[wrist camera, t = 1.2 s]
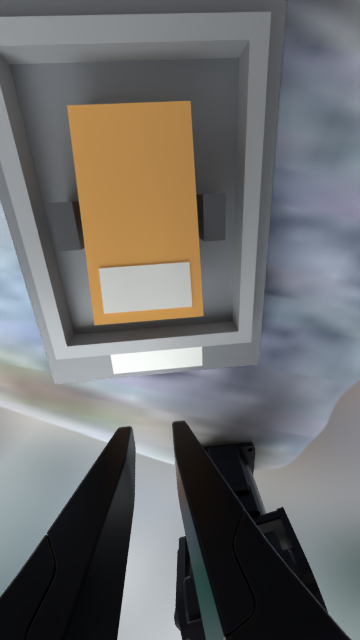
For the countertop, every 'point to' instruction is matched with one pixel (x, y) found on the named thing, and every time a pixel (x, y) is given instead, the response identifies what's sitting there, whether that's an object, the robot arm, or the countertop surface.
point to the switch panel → (209, 161)
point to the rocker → (138, 209)
